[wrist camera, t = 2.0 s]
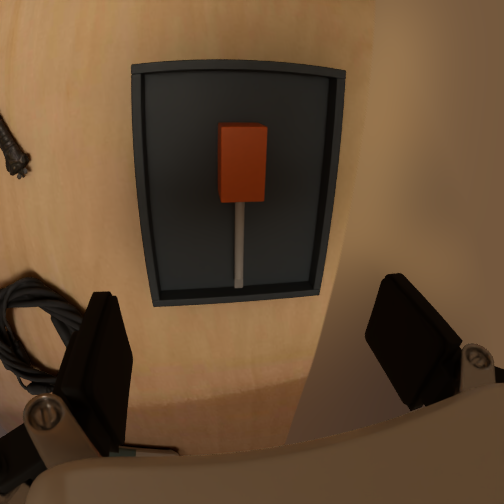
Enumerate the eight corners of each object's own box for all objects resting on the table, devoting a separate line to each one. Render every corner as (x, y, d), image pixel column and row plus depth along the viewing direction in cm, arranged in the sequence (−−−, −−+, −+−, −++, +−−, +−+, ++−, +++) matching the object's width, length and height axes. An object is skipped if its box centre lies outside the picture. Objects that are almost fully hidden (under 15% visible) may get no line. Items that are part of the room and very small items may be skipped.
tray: (136, 66, 19) (131, 64, 17) (334, 71, 21) (346, 70, 19) (155, 293, 28) (153, 307, 26) (312, 282, 30) (319, 295, 28)
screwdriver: (217, 122, 21) (220, 126, 19) (259, 122, 22) (267, 126, 19) (219, 278, 28) (222, 299, 25) (253, 276, 28) (259, 296, 25)
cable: (-16, 259, 23) (-36, 283, 19) (104, 280, 26) (93, 310, 23) (17, 371, 30) (8, 396, 26) (113, 392, 34) (109, 420, 30)
